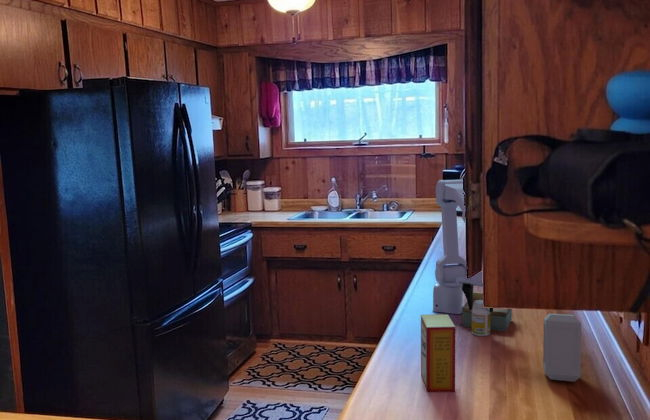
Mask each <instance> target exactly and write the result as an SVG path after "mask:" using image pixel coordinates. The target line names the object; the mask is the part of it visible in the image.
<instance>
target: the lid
mask: <svg viewBox="0 0 650 420" xmlns="http://www.w3.org/2000/svg"><path fill="white" fill-rule="evenodd" d="M476 300H483V293H482V291H474V290H473V308H474V307H475V306H474V301H476ZM473 308H472V309H473ZM488 309H489V308H488ZM462 311H466V312H472V310H469V306H468V302H467V301H466V302H465V304H464V305H463V307H462ZM509 311H510V309H493V311H492V312H490V314H493V315H502V316H507V314H508V312H509Z"/></svg>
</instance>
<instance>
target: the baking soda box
mask: <svg viewBox="0 0 650 420" xmlns="http://www.w3.org/2000/svg"><path fill="white" fill-rule="evenodd" d="M420 376H421V379H422V382H423V386H424V388H425V391H426V393H455V392H456V325H455V324H454V322H453V321H452V319H451V318H450V316H449V313H444V314H443V313H442V314H441V313H440V314H439V313H438V314H437V313H435V314H421V315H420Z"/></svg>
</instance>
